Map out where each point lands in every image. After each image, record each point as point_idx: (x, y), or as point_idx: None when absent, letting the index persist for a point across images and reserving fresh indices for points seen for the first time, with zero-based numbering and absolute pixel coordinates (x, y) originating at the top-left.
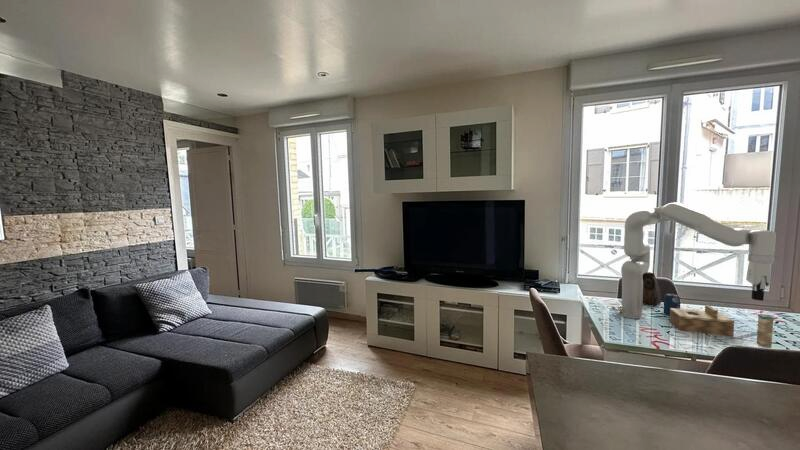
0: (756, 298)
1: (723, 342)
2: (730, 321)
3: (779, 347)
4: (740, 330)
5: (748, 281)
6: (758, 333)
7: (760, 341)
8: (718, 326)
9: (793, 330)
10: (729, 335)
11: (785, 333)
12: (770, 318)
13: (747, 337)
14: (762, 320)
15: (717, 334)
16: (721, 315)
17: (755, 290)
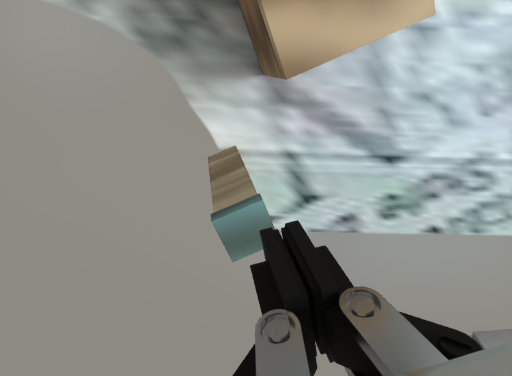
0: (266, 258)
1: (168, 34)
2: (278, 60)
3: None
4: (388, 103)
5: (452, 370)
6: (234, 165)
7: (215, 162)
8: (251, 5)
9: (465, 234)
10: (260, 60)
11: (425, 218)
12: (224, 245)
13: (310, 122)
14: (218, 207)
15: (243, 11)
16: (364, 17)
17: (257, 329)
